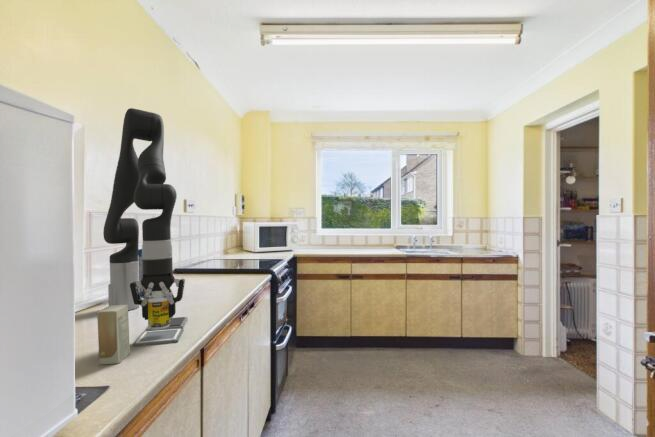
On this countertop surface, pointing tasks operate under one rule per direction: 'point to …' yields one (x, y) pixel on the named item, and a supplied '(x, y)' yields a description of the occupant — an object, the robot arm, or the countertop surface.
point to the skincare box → (113, 334)
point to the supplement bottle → (158, 311)
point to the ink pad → (174, 324)
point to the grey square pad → (158, 337)
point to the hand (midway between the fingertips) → (159, 317)
